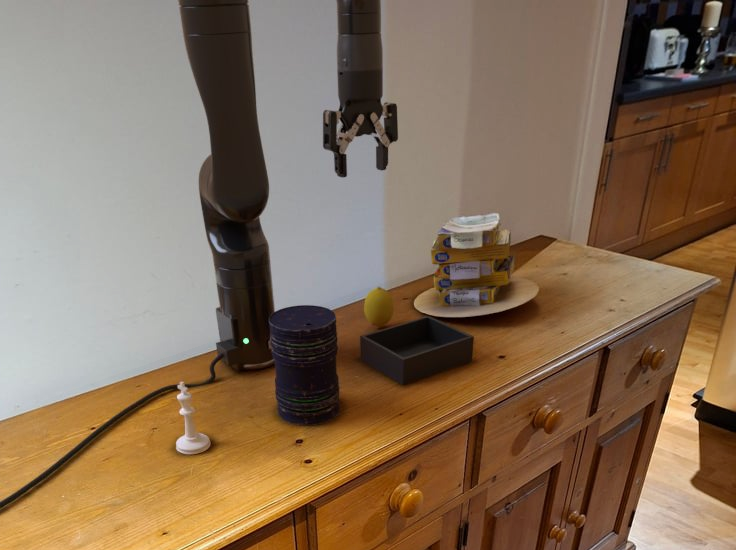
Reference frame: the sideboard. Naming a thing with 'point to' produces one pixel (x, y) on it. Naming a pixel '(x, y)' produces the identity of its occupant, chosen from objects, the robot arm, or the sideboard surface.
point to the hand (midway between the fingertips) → (361, 173)
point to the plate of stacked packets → (473, 270)
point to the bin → (416, 349)
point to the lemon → (378, 307)
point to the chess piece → (190, 427)
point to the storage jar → (305, 364)
